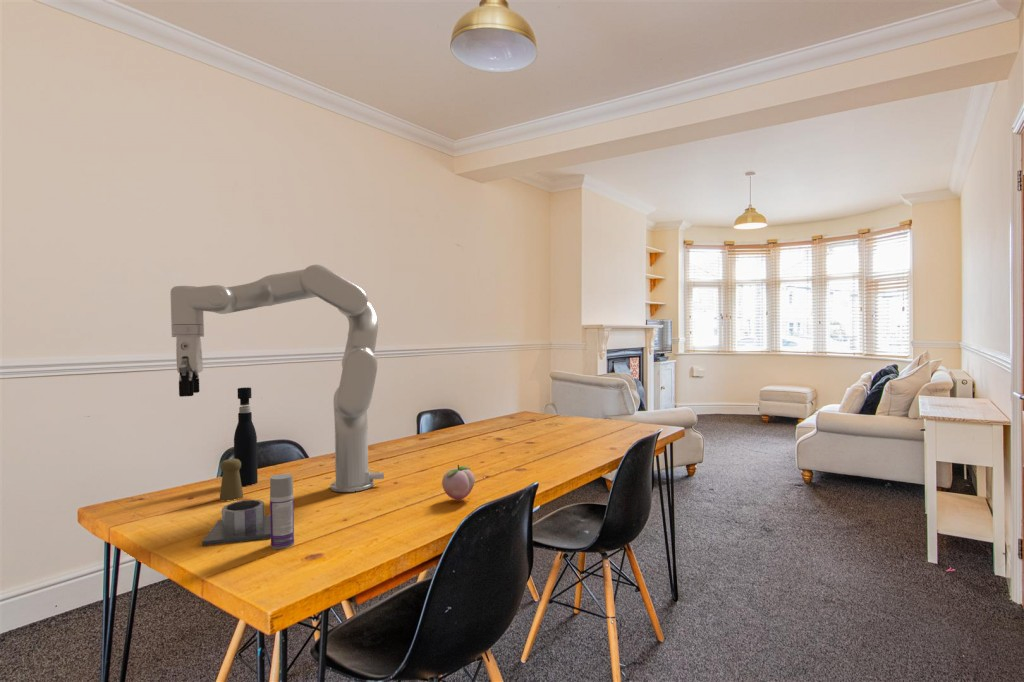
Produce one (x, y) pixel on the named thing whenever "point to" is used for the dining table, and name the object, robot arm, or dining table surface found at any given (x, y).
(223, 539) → the duct collar
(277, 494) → the container
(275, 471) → the dining table surface
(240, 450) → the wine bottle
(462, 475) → the decorative fruit
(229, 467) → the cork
